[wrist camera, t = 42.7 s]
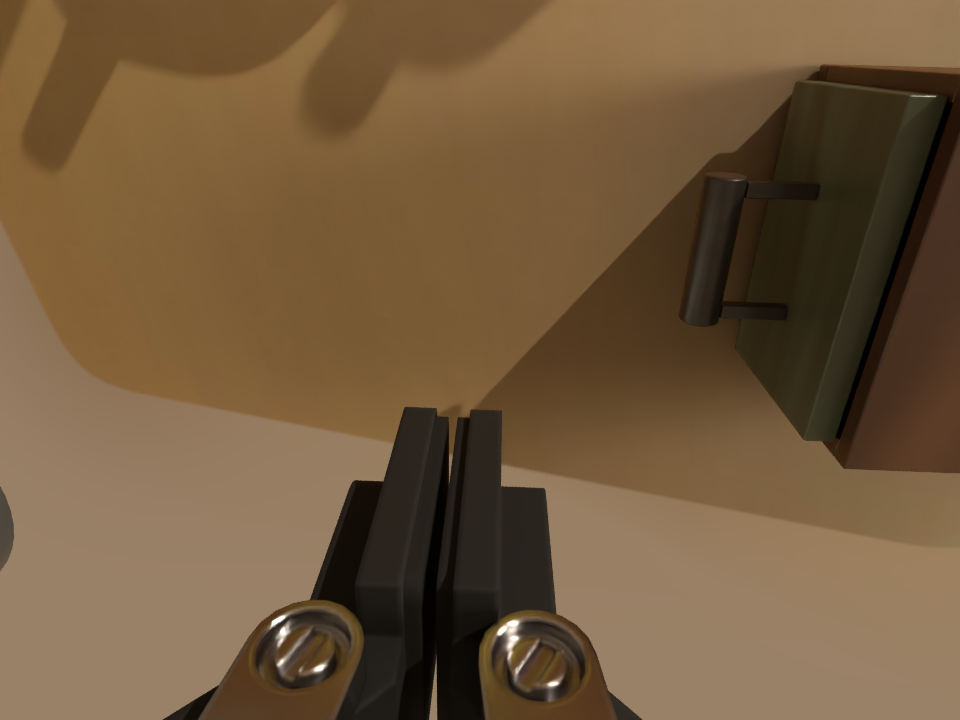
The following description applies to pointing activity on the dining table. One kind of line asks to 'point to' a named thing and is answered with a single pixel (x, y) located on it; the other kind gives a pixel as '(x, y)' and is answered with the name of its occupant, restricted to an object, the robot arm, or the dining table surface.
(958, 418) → the cabinet
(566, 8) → the dining table surface
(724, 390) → the dining table surface
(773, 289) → the drawer
